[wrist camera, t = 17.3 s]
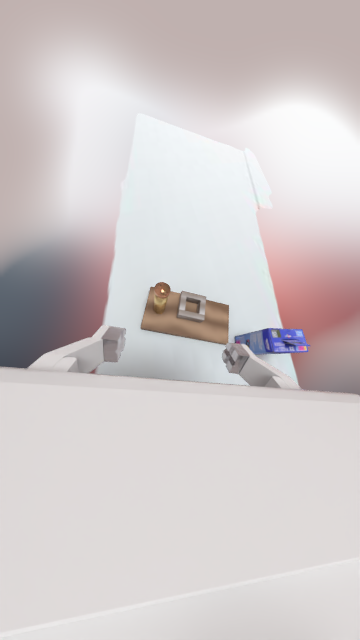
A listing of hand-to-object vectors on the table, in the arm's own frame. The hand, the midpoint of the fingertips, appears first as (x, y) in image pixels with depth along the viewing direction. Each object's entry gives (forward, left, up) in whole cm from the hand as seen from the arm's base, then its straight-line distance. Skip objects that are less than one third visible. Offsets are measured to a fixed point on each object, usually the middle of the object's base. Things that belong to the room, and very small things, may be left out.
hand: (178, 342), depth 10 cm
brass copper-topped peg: (+12, +2, -23) cm, 26 cm away
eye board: (+12, -6, -24) cm, 28 cm away
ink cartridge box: (+7, -26, -25) cm, 37 cm away
